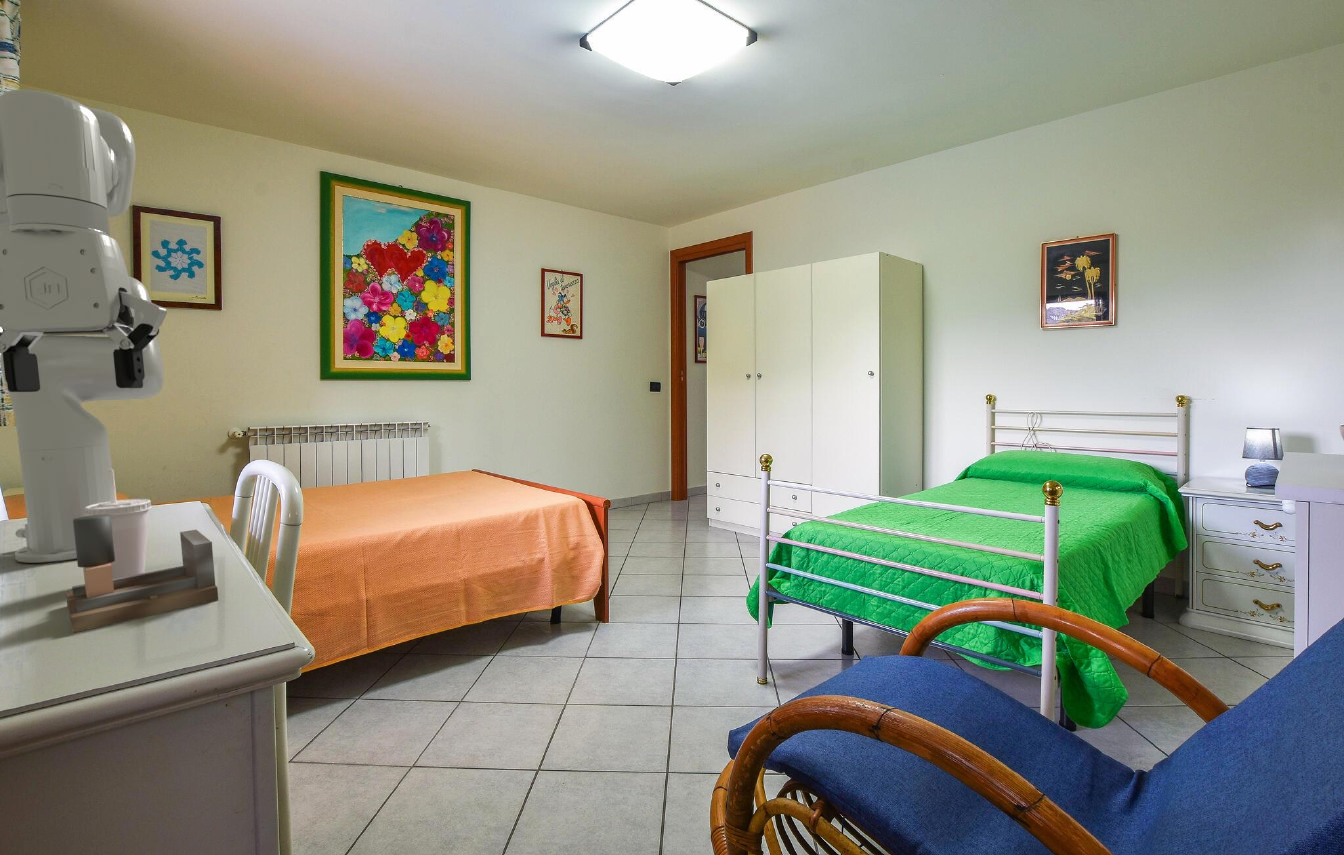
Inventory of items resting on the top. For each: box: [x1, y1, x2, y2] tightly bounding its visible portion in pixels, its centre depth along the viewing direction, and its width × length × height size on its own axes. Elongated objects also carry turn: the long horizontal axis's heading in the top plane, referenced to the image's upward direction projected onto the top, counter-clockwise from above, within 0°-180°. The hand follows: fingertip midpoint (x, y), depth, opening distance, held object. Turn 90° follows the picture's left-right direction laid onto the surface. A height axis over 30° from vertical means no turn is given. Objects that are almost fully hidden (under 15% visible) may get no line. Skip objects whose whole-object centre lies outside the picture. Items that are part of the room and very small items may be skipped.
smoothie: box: [84, 468, 153, 579], centre depth 79 cm, size 6×6×14 cm
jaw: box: [73, 514, 115, 598], centre depth 68 cm, size 3×5×9 cm, turn 46°
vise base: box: [65, 529, 219, 633], centre depth 71 cm, size 12×11×6 cm
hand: (78, 389), depth 66 cm, fingers open, 9 cm apart
